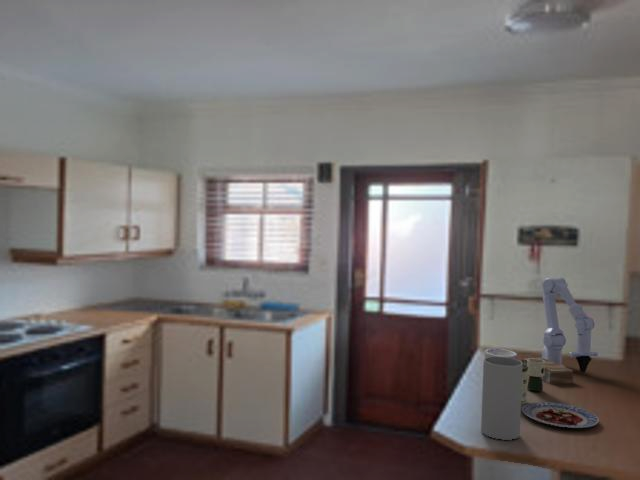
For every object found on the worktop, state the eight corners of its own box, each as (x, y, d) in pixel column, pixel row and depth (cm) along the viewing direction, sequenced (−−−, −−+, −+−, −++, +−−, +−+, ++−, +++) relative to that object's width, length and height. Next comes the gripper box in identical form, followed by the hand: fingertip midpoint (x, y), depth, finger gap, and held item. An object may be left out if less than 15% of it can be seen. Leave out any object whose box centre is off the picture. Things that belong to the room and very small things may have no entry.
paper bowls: (512, 374, 266) (513, 357, 265) (480, 368, 274) (480, 352, 273) (519, 367, 279) (520, 351, 278) (488, 362, 287) (489, 346, 286)
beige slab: (521, 370, 272) (522, 358, 272) (541, 369, 275) (542, 357, 275) (551, 384, 251) (551, 371, 250) (572, 382, 253) (573, 370, 253)
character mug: (543, 395, 235) (544, 364, 234) (525, 392, 237) (526, 362, 237) (544, 388, 245) (545, 358, 244) (526, 385, 247) (528, 356, 247)
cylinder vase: (483, 424, 199) (485, 354, 198) (520, 430, 194) (523, 359, 193) (478, 437, 188) (481, 363, 187) (518, 444, 183) (521, 368, 182)
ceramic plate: (594, 439, 189) (594, 430, 189) (515, 422, 203) (515, 414, 203) (602, 416, 211) (602, 408, 211) (530, 403, 225) (530, 395, 225)
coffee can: (501, 394, 234) (502, 361, 233) (527, 398, 230) (529, 364, 229) (498, 402, 225) (499, 367, 224) (525, 406, 220) (526, 370, 220)
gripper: (576, 345, 261) (575, 374, 262) (603, 344, 265) (601, 373, 265) (566, 342, 268) (565, 370, 269) (592, 341, 272) (591, 369, 272)
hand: (582, 371), depth 268 cm, fingers closed
